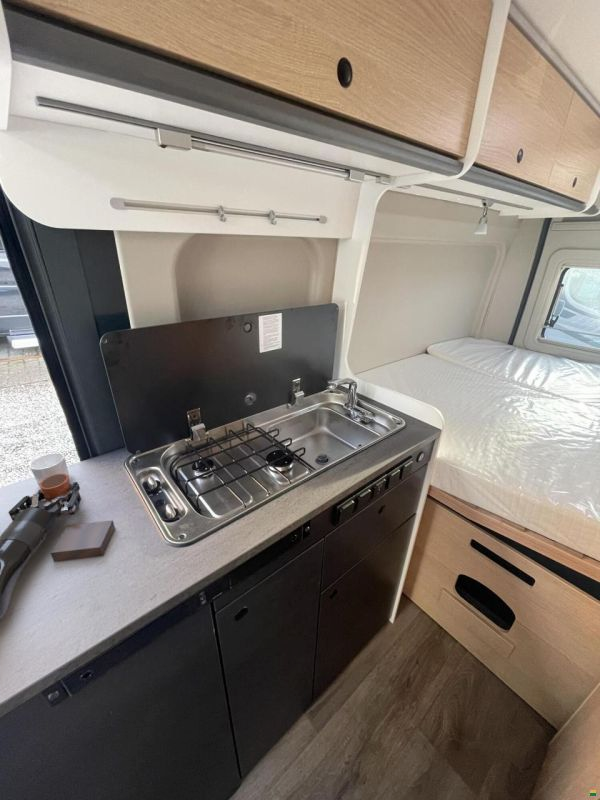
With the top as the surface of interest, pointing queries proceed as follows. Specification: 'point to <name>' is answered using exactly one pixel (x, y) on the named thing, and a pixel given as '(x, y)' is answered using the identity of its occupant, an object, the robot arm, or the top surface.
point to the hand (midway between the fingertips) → (62, 485)
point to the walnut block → (83, 541)
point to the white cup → (48, 466)
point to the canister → (55, 486)
